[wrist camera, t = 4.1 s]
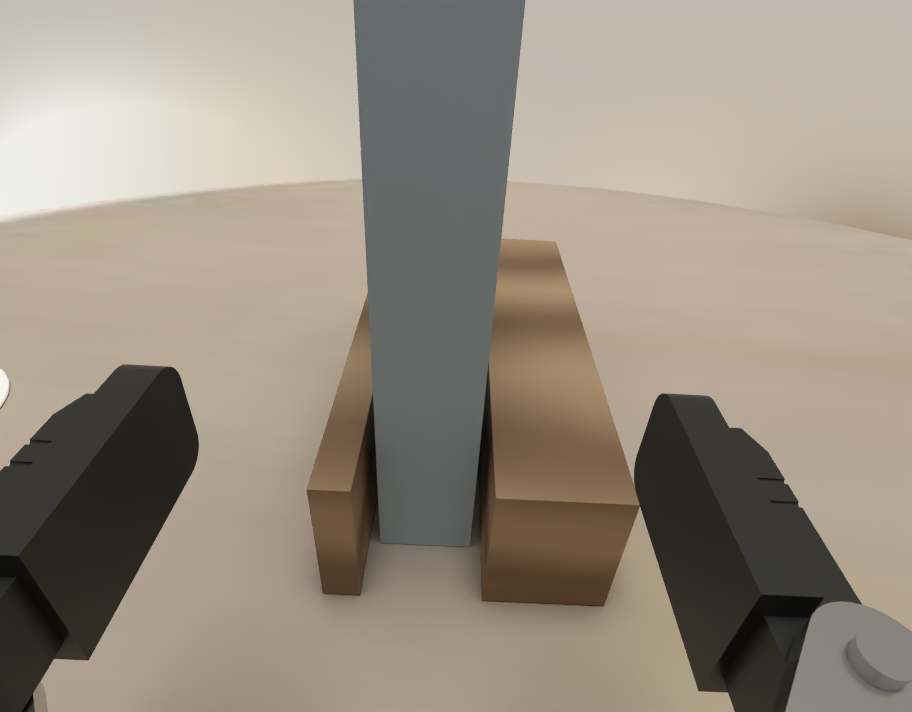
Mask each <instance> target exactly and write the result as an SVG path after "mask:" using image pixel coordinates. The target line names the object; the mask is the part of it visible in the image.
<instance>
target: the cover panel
mask: <svg viewBox="0 0 912 712" xmlns="http://www.w3.org/2000/svg"><path fill="white" fill-rule="evenodd" d="M524 8H525V0H354V18H355V39H356V60H357V79H358V100H359V121H360V140H361V161H362V181H363V202H364V222H365V242H366V263H367V283H368V303H369V323H370V344H371V364H372V384H373V405H374V425H375V445H376V465H377V486H378V506H379V526H380V543H391V544H413V545H435V546H457V547H470V540H471V530H472V520H473V510H474V500H475V490H476V481H477V471H478V461H479V451H480V441H481V431H482V422H483V412H484V402H485V392H486V382H487V372H488V362H489V353H490V343H491V333H492V323H493V313H494V303H495V294H496V284H497V274H498V264H499V254H500V244H501V234H502V225H503V215H504V205H505V195H506V185H507V175H508V165H509V155H510V146H511V135H512V126H513V116H514V106H515V97H516V85H517V77H518V66H519V56H520V46H521V37H522V28H523V18H524Z"/></svg>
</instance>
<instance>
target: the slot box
mask: <svg viewBox="0 0 912 712" xmlns="http://www.w3.org/2000/svg"><path fill="white" fill-rule="evenodd" d="M479 481H480V526H481V572H482V600H485V601H508V602H530V603H553V604H576V605H598V606H604V603H605V601H606V598H607V595H608V592H609V590H610V587H611V584H612V581H613V579H614V576H615V573H616V570H617V568H618V565H619V562H620V559H621V557H622V554H623V551H624V548H625V546H626V543H627V540H628V537H629V535H630V532H631V529H632V526H633V524H634V521H635V518H636V515H637V513H638V510H639V507H640V504H639V501H638V498H637V494H636V490H635V487H634V484H633V481H632V478H631V475H630V472H629V469H628V465H627V462H626V459H625V456H624V453H623V450H622V447H621V444H620V440H619V437H618V434H617V431H616V428H615V425H614V422H613V419H612V416H611V412H610V409H609V406H608V403H607V400H606V397H605V394H604V391H603V388H602V384H601V381H600V378H599V375H598V372H597V369H596V366H595V363H594V359H593V356H592V353H591V350H590V347H589V344H588V341H587V338H586V335H585V331H584V328H583V325H582V322H581V319H580V316H579V313H578V310H577V307H576V303H575V300H574V297H573V294H572V291H571V288H570V285H569V282H568V278H567V275H566V272H565V269H564V266H563V263H562V260H561V257H560V254H559V250H558V247H557V244H556V242H554V241H535V240H516V239H501V244H500V254H499V264H498V274H497V284H496V294H495V303H494V313H493V323H492V333H491V343H490V353H489V362H488V372H487V382H486V392H485V402H484V412H483V422H482V431H481V441H480V451H479ZM377 493H378V486H377V465H376V445H375V425H374V405H373V384H372V364H371V344H370V323H369V303H368V294H367V297H366V300H365V303H364V307H363V310H362V313H361V316H360V319H359V323H358V326H357V329H356V332H355V336H354V339H353V342H352V345H351V348H350V352H349V355H348V358H347V361H346V365H345V368H344V371H343V374H342V377H341V381H340V384H339V387H338V390H337V394H336V397H335V400H334V403H333V406H332V410H331V413H330V416H329V419H328V423H327V426H326V429H325V432H324V435H323V439H322V442H321V445H320V448H319V452H318V455H317V458H316V461H315V464H314V468H313V471H312V474H311V477H310V481H309V484H308V487H307V495H308V501H309V507H310V514H311V520H312V526H313V532H314V539H315V545H316V551H317V558H318V564H319V570H320V577H321V583H322V589H323V593H328V594H350V595H360V592H361V586H362V580H363V574H364V569H365V563H366V557H367V551H368V545H369V540H370V534H371V528H372V522H373V517H374V511H375V505H376V499H377Z"/></svg>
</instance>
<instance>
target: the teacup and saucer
mask: <svg viewBox="0 0 912 712" xmlns="http://www.w3.org/2000/svg"><path fill="white" fill-rule="evenodd" d="M9 389H10V382H9V379H8V376H7V375H6V373H5V372H4V371H3V370H2V369H0V407H1V406H2V405H3V403H4V402H5V400H6V398H7V396H8V393H9Z"/></svg>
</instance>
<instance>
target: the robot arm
mask: <svg viewBox="0 0 912 712" xmlns="http://www.w3.org/2000/svg"><path fill="white" fill-rule="evenodd" d="M198 448H199V441H198V434H197V431H196V427H195V424H194V421H193V417H192V414H191V411H190V407H189V404H188V401H187V398H186V394H185V391H184V388H183V384H182V381H181V378H180V375H179V373H178V372H177V371H176V369H174V368H173V367H164V366H145V365H121V366H119V367H118V368H117V369H116V370H115V371H114V372H113V373H112V374H111V375H110V376H109V377H108V378H107V380H106V381H105V382H104V383H103V384H102V385H101V386H100V387H99V389H98V390H97V391H96V392H95V393H94V394H85V395H83V396H82V397H80V398H79V399H77V400H75V401H74V402H72V403H71V404H69V405H67V406H66V407H64V408H63V409H61V410H60V411H58V412H56V413H55V414H53V415H52V416H51V417H50V419H49V420H48V421H47V422H46V423H45V424H44V425H43V426H42V427H41V428H40V429H39V430H38V431H37V432H36V434H35V435H34V436H33V437H32V438H31V439H30V444H29V445H24V446H23V447H22V448H21V450H20V451H19V452H18V453H17V454H16V455H15V456H14V457H13V458H12V459H11V460H10V466H9V467H8V466H5V467H4V468H3V469H2V470H1V471H0V712H48V709H47V701H46V693H45V690H44V686H43V685H42V683H41V679H42V678H43V676H44V674H45V673H46V671H47V669H48V668H49V666H50V664H51V663H52V661H53V660H54V659H71V660H89V659H90V657H91V655H92V653H93V651H94V650H95V648H96V646H97V644H98V642H99V641H100V639H101V637H102V635H103V633H104V631H105V630H106V628H107V626H108V624H109V622H110V621H111V619H112V617H113V615H114V613H115V612H116V610H117V608H118V606H119V604H120V602H121V601H122V599H123V597H124V595H125V593H126V592H127V590H128V588H129V586H130V584H131V582H132V581H133V579H134V577H135V575H136V573H137V572H138V570H139V568H140V566H141V564H142V563H143V561H144V559H145V557H146V555H147V553H148V552H149V550H150V548H151V546H152V544H153V543H154V541H155V539H156V537H157V535H158V534H159V532H160V530H161V528H162V526H163V524H164V523H165V521H166V519H167V517H168V515H169V514H170V512H171V510H172V508H173V506H174V505H175V503H176V501H177V499H178V497H179V495H180V494H181V492H182V490H183V488H184V486H185V485H186V483H187V481H188V479H189V477H190V476H191V474H192V472H193V470H194V467H195V464H196V461H197V456H198ZM634 482H635V490H636V494H637V498H638V501H639V504H640V507H641V511H642V514H643V517H644V520H645V523H646V526H647V529H648V533H649V536H650V539H651V542H652V545H653V548H654V552H655V555H656V558H657V561H658V564H659V567H660V571H661V574H662V577H663V580H664V583H665V586H666V590H667V593H668V596H669V599H670V602H671V605H672V609H673V612H674V615H675V618H676V621H677V624H678V628H679V631H680V634H681V637H682V640H683V643H684V647H685V650H686V653H687V656H688V659H689V662H690V665H691V669H692V672H693V675H694V678H695V681H696V684H697V688H698V691H708V692H728V693H729V696H730V699H731V702H732V705H733V707H734V710H735V712H912V632H911V631H910V630H909V629H907V628H906V627H905V626H903V625H902V624H900V623H899V622H898V621H896V620H894V619H892V618H891V617H889V616H887V615H886V614H884V613H882V612H879V611H877V610H875V609H873V608H870V607H867V606H864V605H862V603H861V602H860V600H859V599H858V597H857V596H856V594H855V593H854V591H853V589H852V588H851V586H850V585H849V583H848V581H847V580H846V578H845V576H844V575H843V573H842V572H841V570H840V568H839V567H838V565H837V563H836V562H835V560H834V559H833V557H832V555H831V554H830V552H829V550H828V549H827V547H826V546H825V544H824V542H823V541H822V539H821V537H820V536H819V534H818V533H817V531H816V529H815V528H814V526H813V524H812V523H811V521H810V520H809V518H808V516H807V515H806V513H805V511H804V510H803V508H799V506H798V500H797V498H796V497H795V495H794V494H793V492H792V490H791V489H790V487H789V485H788V484H784V477H783V476H782V474H781V472H780V471H779V469H778V468H777V466H776V464H775V463H774V461H773V460H772V458H771V456H770V455H769V453H768V452H767V451H766V450H765V449H764V448H763V447H762V446H760V445H759V444H758V443H757V442H756V441H755V440H754V439H753V438H751V437H750V436H749V435H748V434H747V433H746V432H745V431H743V430H742V429H741V428H729V427H728V425H727V423H726V421H725V420H724V418H723V416H722V414H721V413H720V411H719V409H718V407H717V405H716V404H715V402H714V401H713V399H712V398H711V397H709V396H701V395H682V394H661V395H659V396H658V397H657V399H656V401H655V403H654V406H653V409H652V412H651V415H650V418H649V421H648V424H647V427H646V430H645V433H644V436H643V439H642V442H641V445H640V448H639V451H638V454H637V457H636V461H635V468H634Z"/></svg>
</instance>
